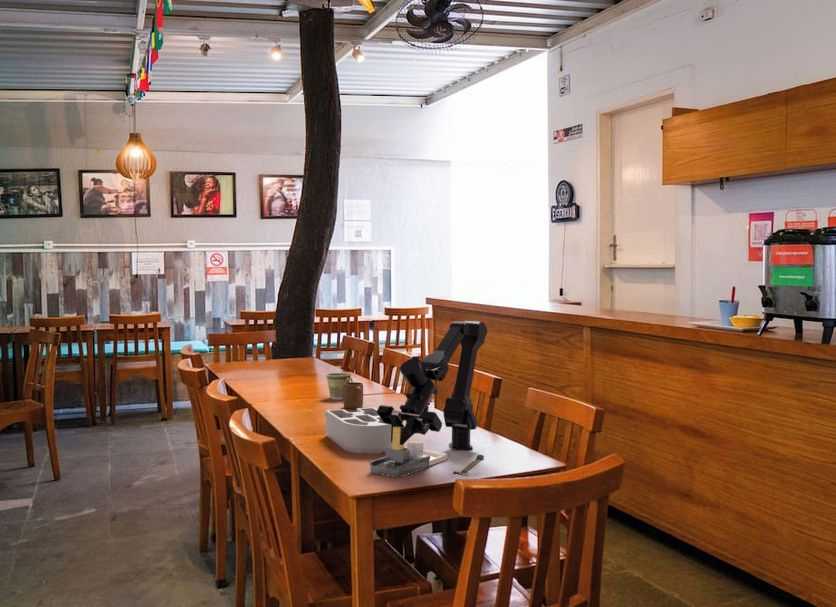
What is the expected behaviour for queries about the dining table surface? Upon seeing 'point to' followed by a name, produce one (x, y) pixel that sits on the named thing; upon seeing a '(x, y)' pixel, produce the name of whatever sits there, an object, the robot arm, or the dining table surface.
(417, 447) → the speckled white cube
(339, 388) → the ceramic cup
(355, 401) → the mug
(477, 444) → the dining table surface
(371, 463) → the slot deck
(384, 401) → the dining table surface
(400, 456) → the yellow peg on base
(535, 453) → the dining table surface
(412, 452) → the pale grey cube
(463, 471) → the tactical tomahawk
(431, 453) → the tray
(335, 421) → the grey compartment organizer
